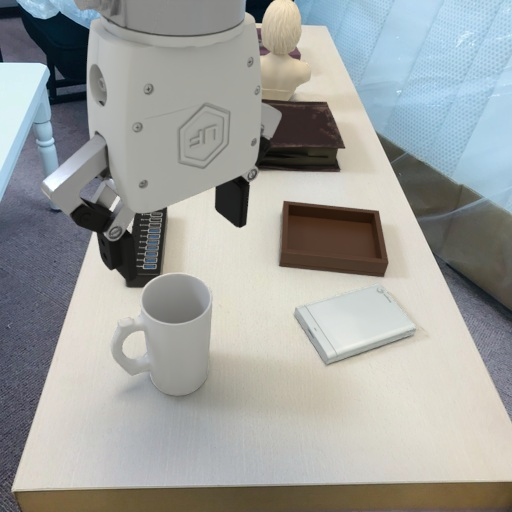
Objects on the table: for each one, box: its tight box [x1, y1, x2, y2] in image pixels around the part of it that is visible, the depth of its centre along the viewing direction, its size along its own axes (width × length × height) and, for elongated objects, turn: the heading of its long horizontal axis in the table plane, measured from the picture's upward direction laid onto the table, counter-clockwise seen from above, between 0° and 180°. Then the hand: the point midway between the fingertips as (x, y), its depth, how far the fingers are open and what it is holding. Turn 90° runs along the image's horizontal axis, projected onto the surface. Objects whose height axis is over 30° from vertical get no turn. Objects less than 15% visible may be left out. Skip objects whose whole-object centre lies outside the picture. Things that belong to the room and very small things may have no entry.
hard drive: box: [293, 282, 417, 365], centre depth 62 cm, size 2×8×12 cm
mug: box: [110, 271, 214, 397], centre depth 51 cm, size 10×7×12 cm, turn 116°
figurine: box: [260, 0, 312, 101], centre depth 99 cm, size 14×9×20 cm
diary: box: [257, 99, 346, 172], centre depth 91 cm, size 19×25×5 cm
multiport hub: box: [124, 207, 169, 288], centre depth 69 cm, size 4×14×2 cm, turn 4°
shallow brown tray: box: [278, 200, 389, 278], centre depth 73 cm, size 12×14×3 cm
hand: (179, 242), depth 38 cm, fingers open, 9 cm apart
